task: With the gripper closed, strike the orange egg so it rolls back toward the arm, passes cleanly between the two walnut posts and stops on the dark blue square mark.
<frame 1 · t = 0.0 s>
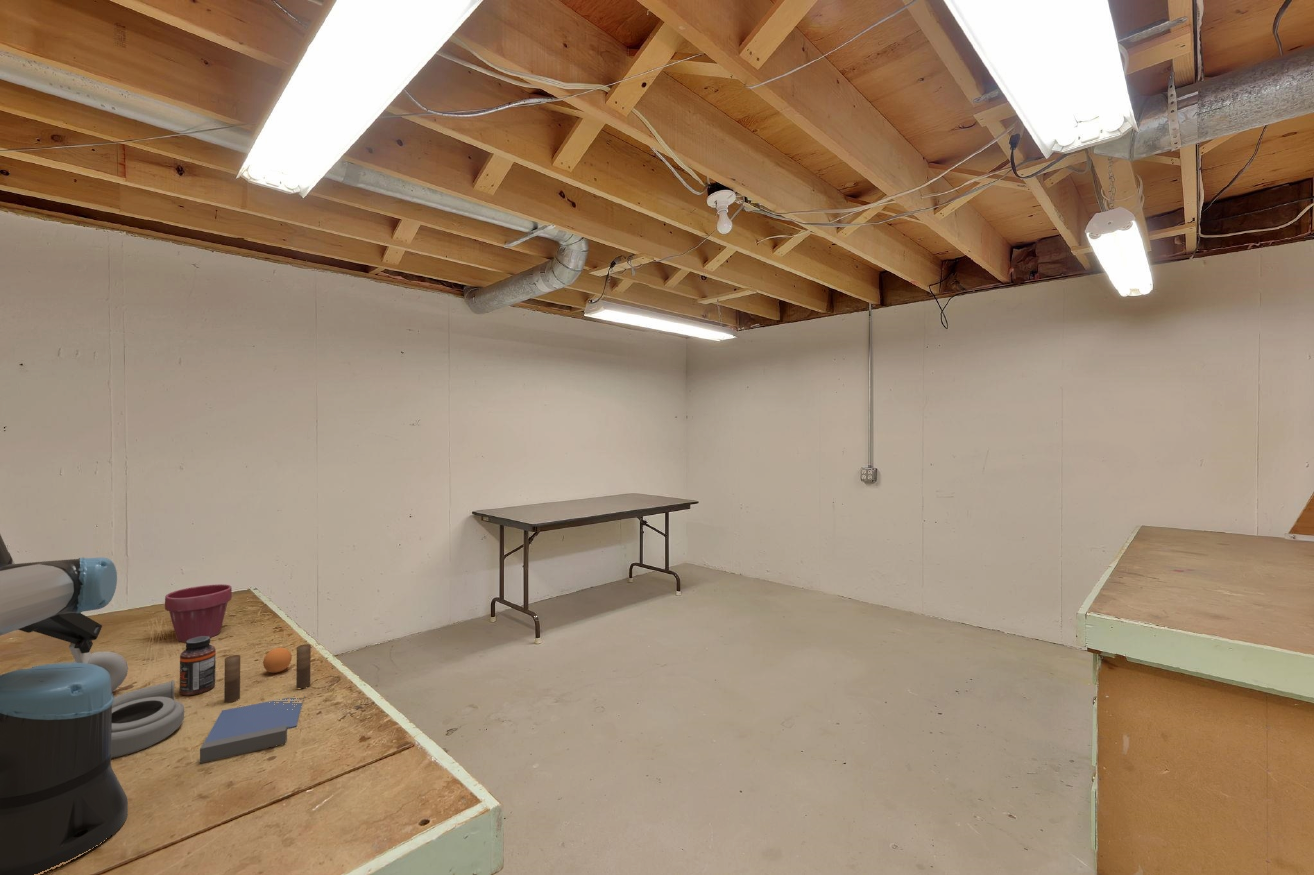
hand: (30, 669, 91), 15 cm above the table, tool tilted 35°, fingers open, 13 cm apart
post left: (232, 699, 111), on the table
orange egg: (277, 660, 124), on the table
post right: (303, 686, 117), on the table
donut: (94, 700, 111), on the table
plant pot: (199, 636, 147), on the table
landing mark: (258, 718, 103), on the table
turbocharger housing: (129, 738, 97), on the table
supplement bottle: (197, 691, 115), on the table
stopper: (245, 750, 93), on the table
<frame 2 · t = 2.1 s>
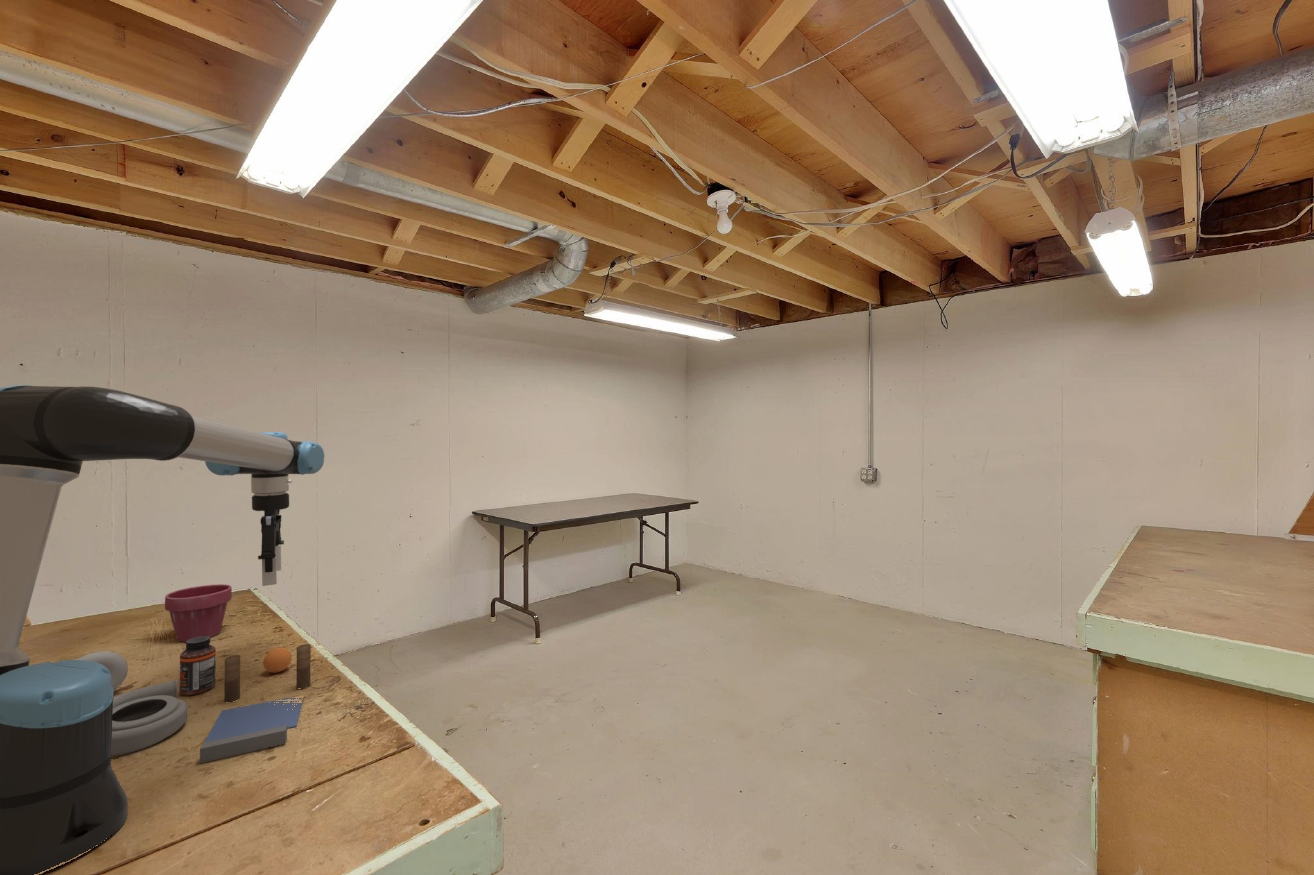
hand: (272, 577, 131), 21 cm above the table, tool pointing down, fingers open, 13 cm apart
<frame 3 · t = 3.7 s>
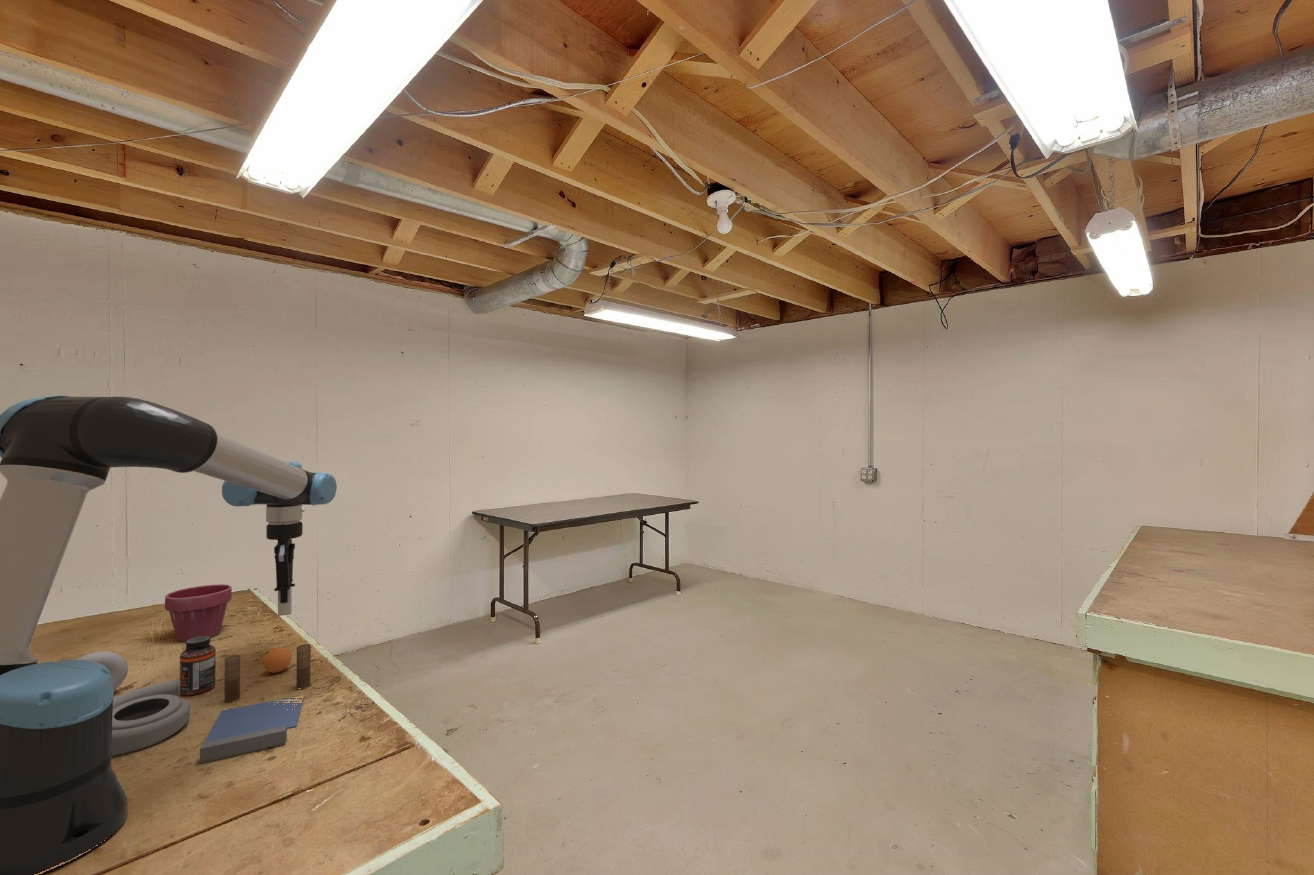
hand: (284, 614, 133), 11 cm above the table, tool pointing down, fingers closed
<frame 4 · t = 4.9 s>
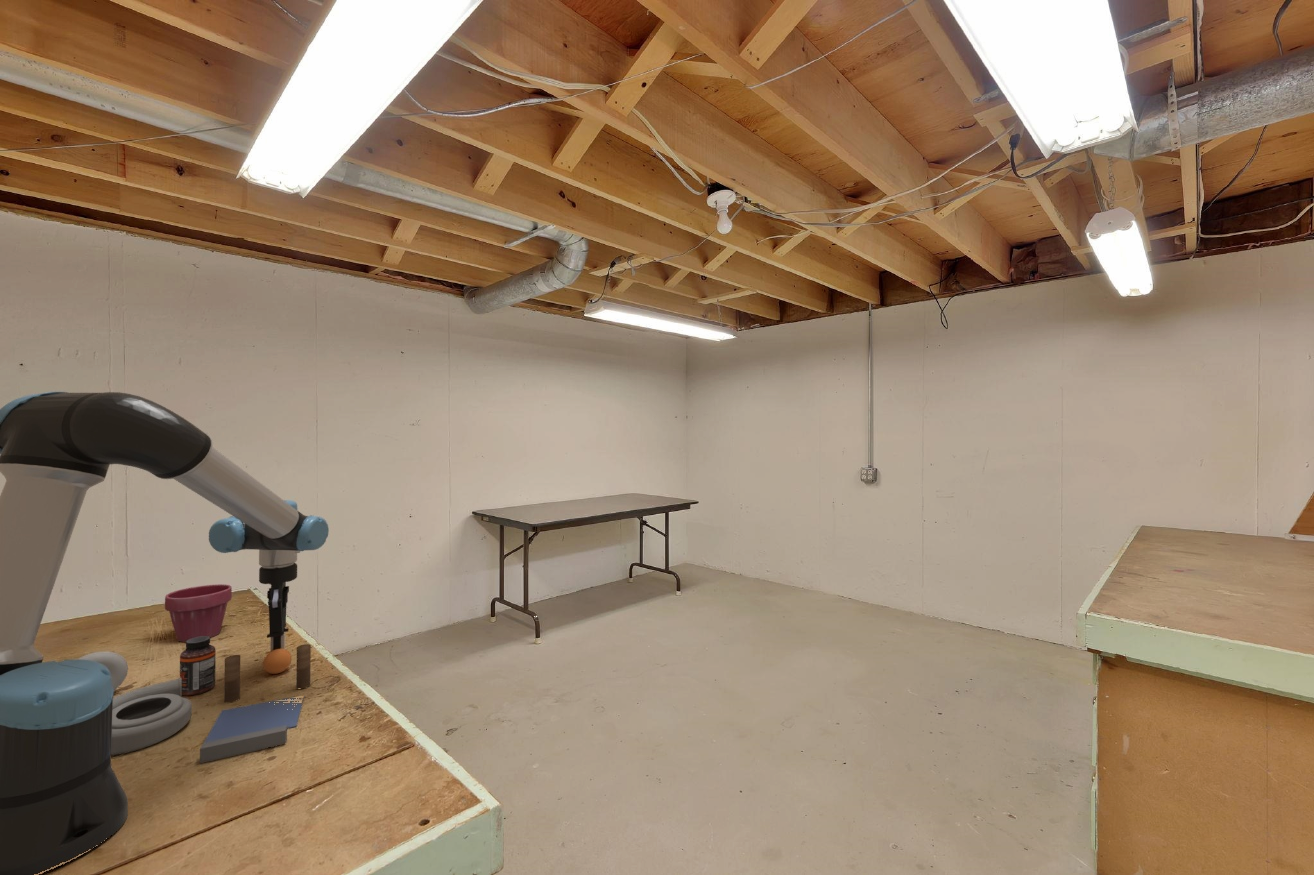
hand: (277, 661, 127), 1 cm above the table, tool pointing down, fingers closed
orange egg: (277, 661, 124), on the table, touching gripper
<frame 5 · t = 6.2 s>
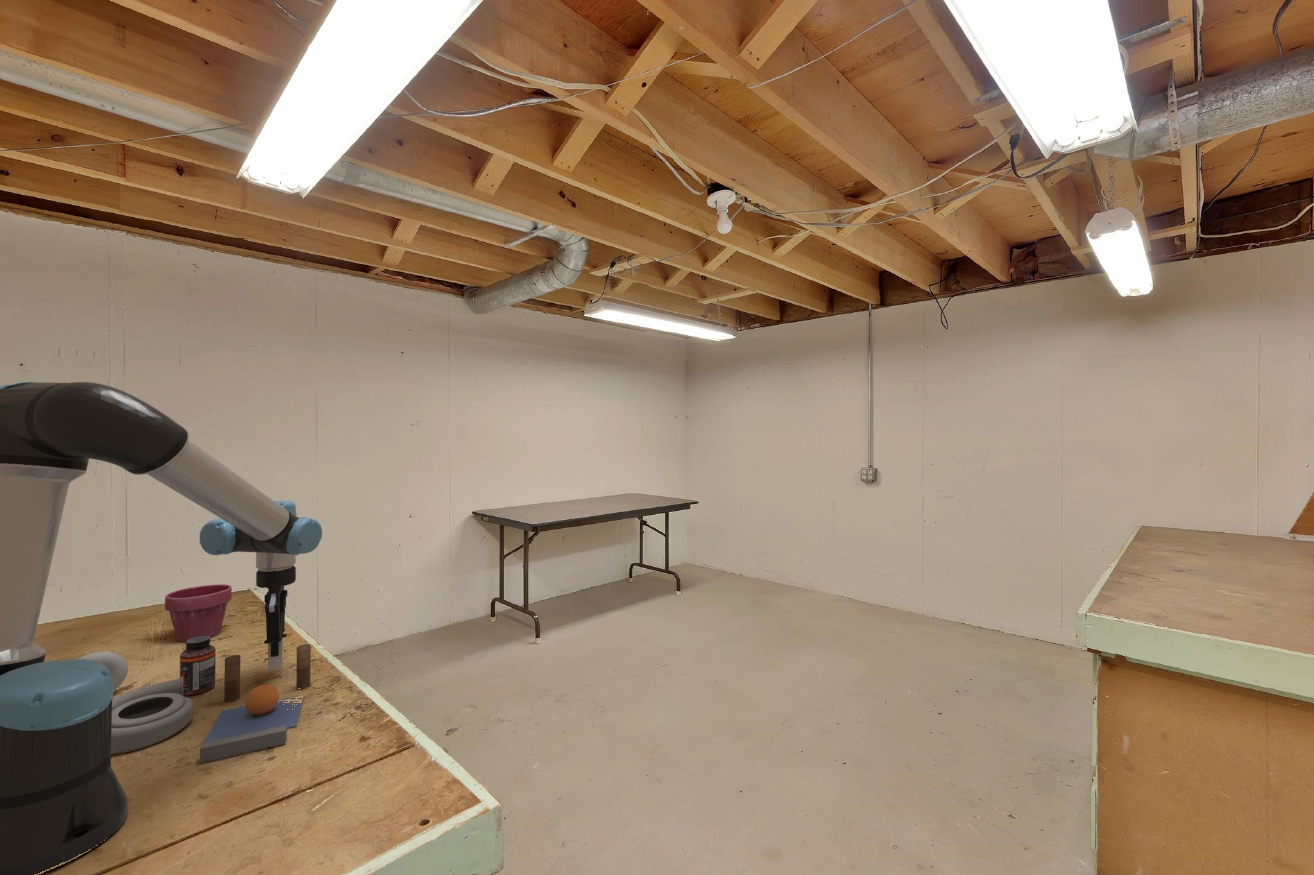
hand: (275, 668, 122), 2 cm above the table, tool pointing down, fingers closed
orange egg: (262, 699, 106), on the table
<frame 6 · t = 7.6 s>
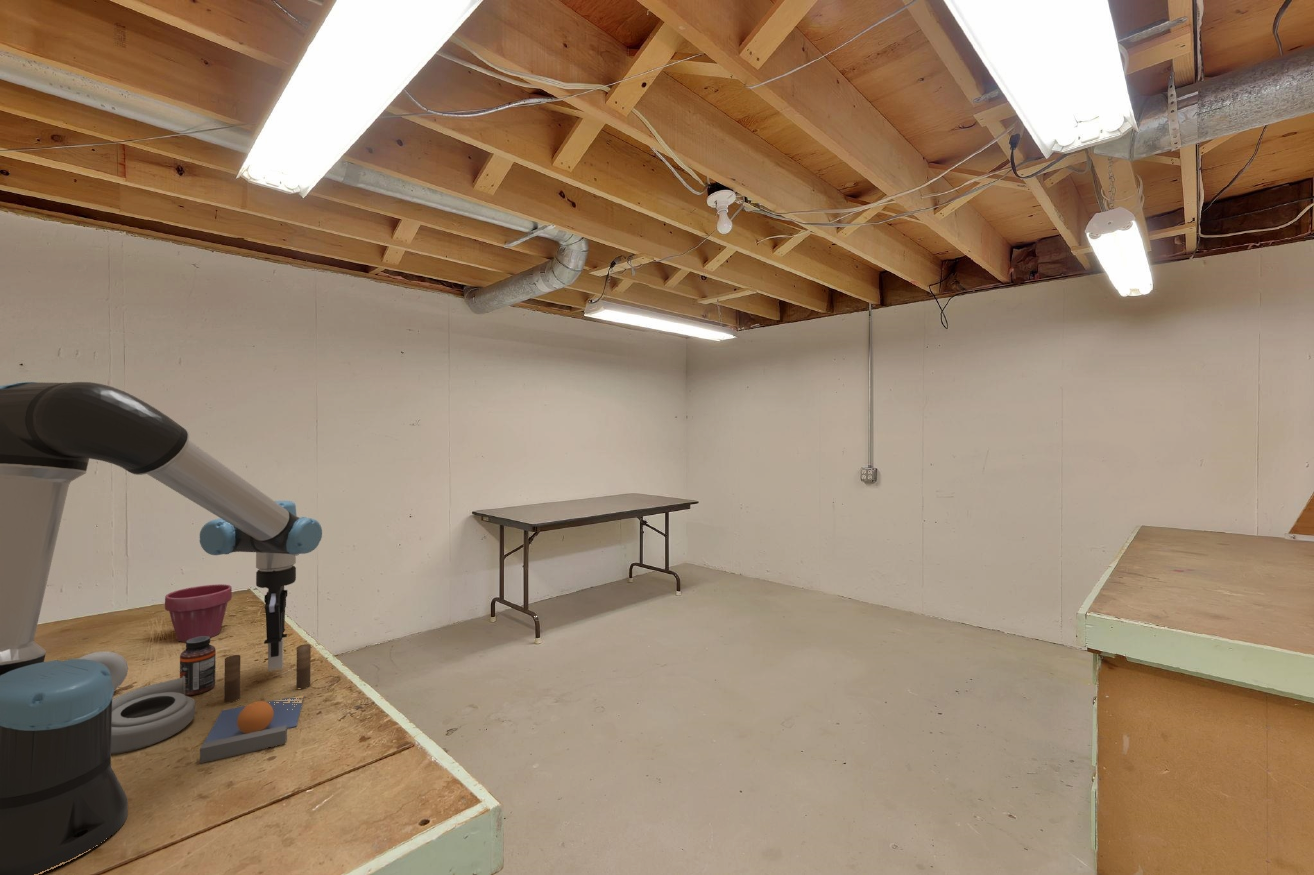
hand: (275, 668, 122), 2 cm above the table, tool pointing down, fingers closed
orange egg: (255, 717, 99), on the table
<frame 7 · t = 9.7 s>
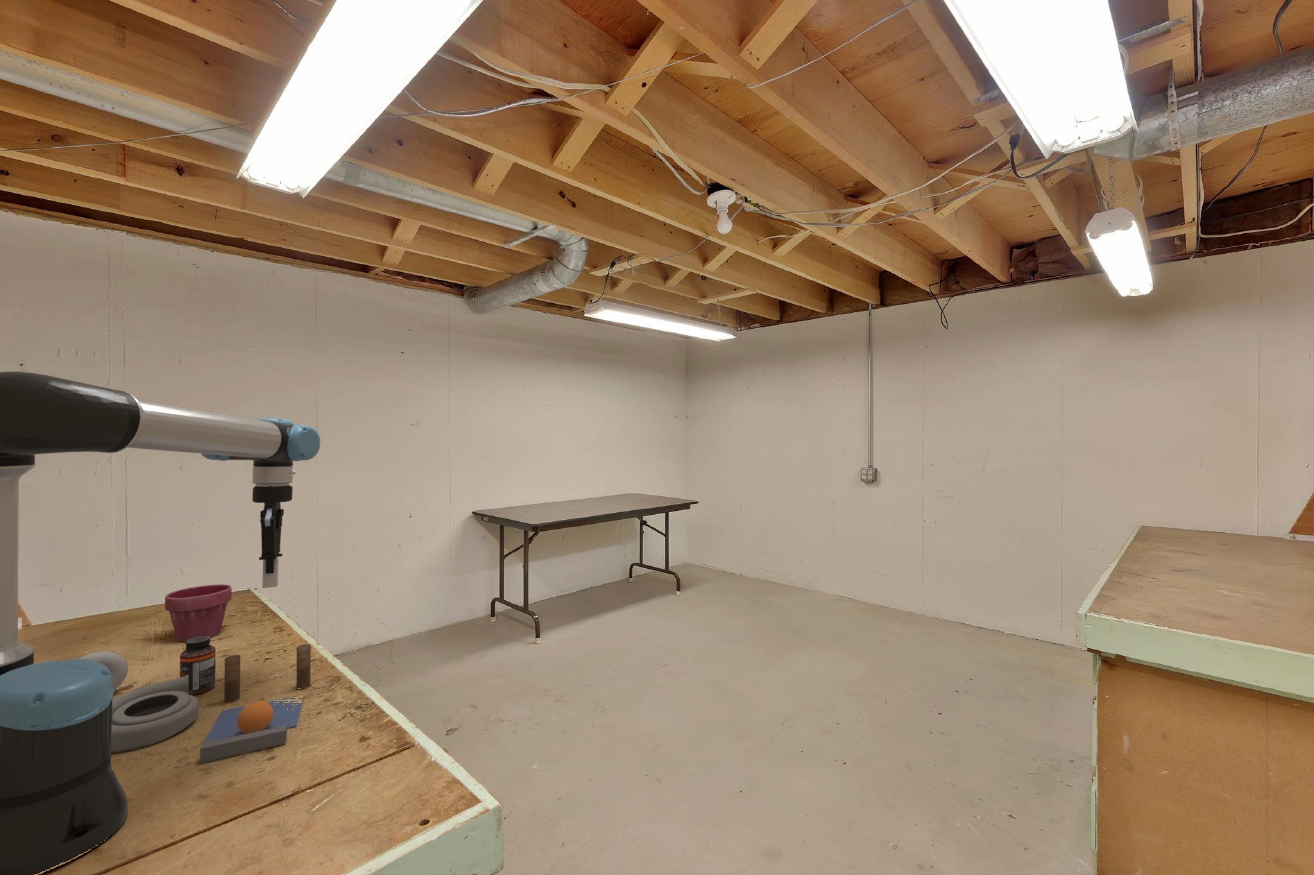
hand: (270, 586, 121), 21 cm above the table, tool pointing down, fingers closed
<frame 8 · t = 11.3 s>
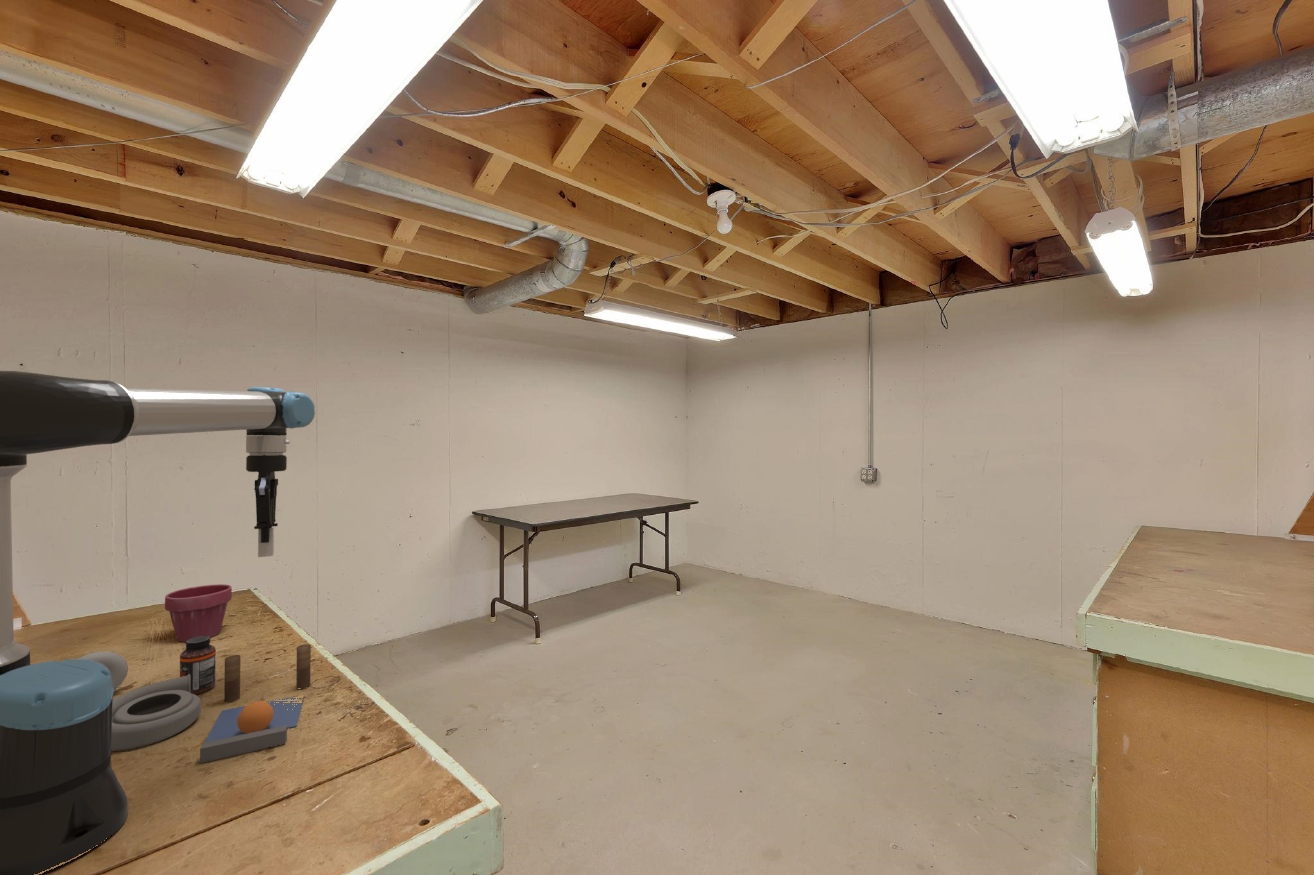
hand: (265, 555, 121), 28 cm above the table, tool pointing down, fingers closed
at the end: orange egg 5.5 cm from the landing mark (horizontally); orange egg never touched post left; orange egg never touched post right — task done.
